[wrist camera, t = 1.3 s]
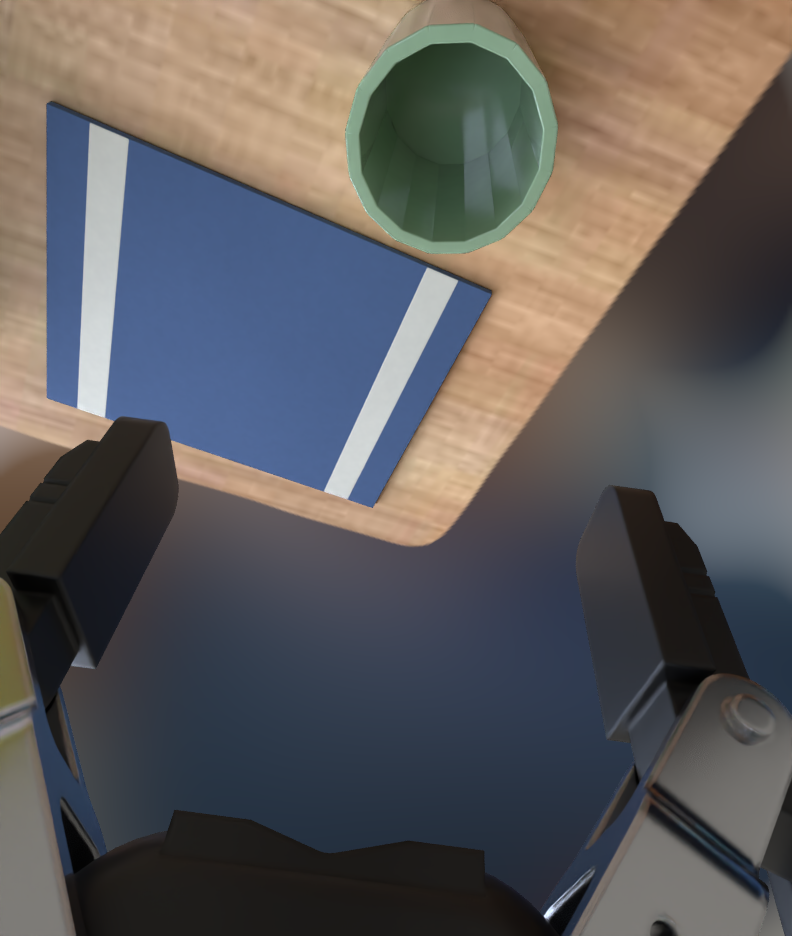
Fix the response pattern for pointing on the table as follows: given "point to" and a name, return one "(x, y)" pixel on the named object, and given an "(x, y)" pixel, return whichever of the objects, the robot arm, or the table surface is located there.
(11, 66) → the table surface
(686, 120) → the table surface
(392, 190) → the tumbler
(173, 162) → the towel
